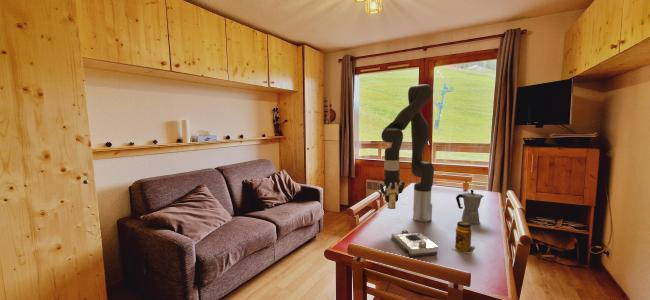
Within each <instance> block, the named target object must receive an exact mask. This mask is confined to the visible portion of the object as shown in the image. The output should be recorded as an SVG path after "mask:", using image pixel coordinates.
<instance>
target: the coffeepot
mask: <svg viewBox="0 0 650 300" xmlns="http://www.w3.org/2000/svg"><path fill="white" fill-rule="evenodd" d="M483 197H484V195H483V194H481V193H480V194H479V193H474V189H470V192H465V193H459V194H457V195H456V197H455V200H456V203H457V207H458V209H460V210H461V209H462V210H463V212H462V215H461V221H464V222H468V223H470V224H471V225H479V224H480V223H481V222H480V214H479V208H480V206H481V205H480V204H481V202H482V199H483ZM460 198H463V199H462V200H463V206H462V204H461V201H460V200H461V199H460Z"/></svg>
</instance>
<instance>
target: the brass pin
mask: <svg viewBox="0 0 650 300" xmlns="http://www.w3.org/2000/svg"><path fill="white" fill-rule="evenodd" d="M386 192H387V190H386ZM388 193H389V202H387V209H389V210H395V209H396V205H397V204H396V203H397V202H396V193H397V189H394V188H392V189H390V190H389V191H388Z"/></svg>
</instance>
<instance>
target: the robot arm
mask: <svg viewBox="0 0 650 300" xmlns="http://www.w3.org/2000/svg"><path fill="white" fill-rule="evenodd" d="M432 94H433V90H432V87H431V86H430V85H429V84H428V83H427V84H417V85H411V86H410V87H409V88H408V92H407V99H408V105H407V106H405V107H404V108H403V109H402V110H400V112H399V113H398V114H397V116H396V117H395V118H394V120H393V121H392V122H390V123H389V124H388V125H386V126H385V127H384V128H383V130H382V132H381V140H382V141H383V142H385V143H389V144H391V146H390V147H386V148H385V149H384V163H383V167H384V168H383V181H381V182H378V184H377V185H378V187H379V191H380V193H381V194H382V195H384V201H386V203H388V202H389V193H388V191H389V190H390V189H392V188H394V189H397V193H396V203H397V202H398V201H399V194H403V192H404V188H405V184H406V182H405V181H403V180H401V179H400V175H401V174H400V173H401V172H400V168H401V166H400V150H401V147H402V144H403V140H404V133H403V131H404V130H405V129H407V127H408V125H409V124H410V125H411V126H410V131H411V132H410V133H411V135H410V137H411V153H412V154H411V168H410V169H411V173H412V175H413V176H414V177H417V178H421V180H420V182H417V183H415V184H414V185H413V205H412V206H413V208H412V209H413V214H412V219H413V220H414V221H417V222H421V223H423V222H425V223H428V222H429V221H432V219H433V218H432V217H433V203H431V202H432V187H433V184H434V178H435V177H434V175H435V168H434V165H433V163H432V162H430V161H429V162H427V161H424V160H423V153H424V150H425V148H426V146H427V144H428V142H429V139H430V127H429V124H428V121H427V119H426V118H425V117H424V116H423V114H422V112H421V109H422V108H423V107H424V106H425V105H426V104H427V103H428V102H429V100H430V99H431V97H432V96H433V95H432ZM384 186H385V187H384ZM386 190H387V192H386Z"/></svg>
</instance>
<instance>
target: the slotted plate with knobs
mask: <svg viewBox="0 0 650 300" xmlns="http://www.w3.org/2000/svg"><path fill="white" fill-rule="evenodd" d="M391 240H393V241H394V242H395V243H396V244H397V246H399V247H400V248H401V249H402V251H404V253H408V257H409V258H414V257H415V258H416V257H424V256H425V257H426V256H434V255H435V256H436V255H437V254H438V252H439V246H438V245H437V244H435V242H433V241H432V240H431V239H429V238H428V237H427V236H425V235H424V234H422V232H415V231H411V232H409V231H408V230H404V229H403V230H401V232H400V233H399V232H398V233H391Z"/></svg>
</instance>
